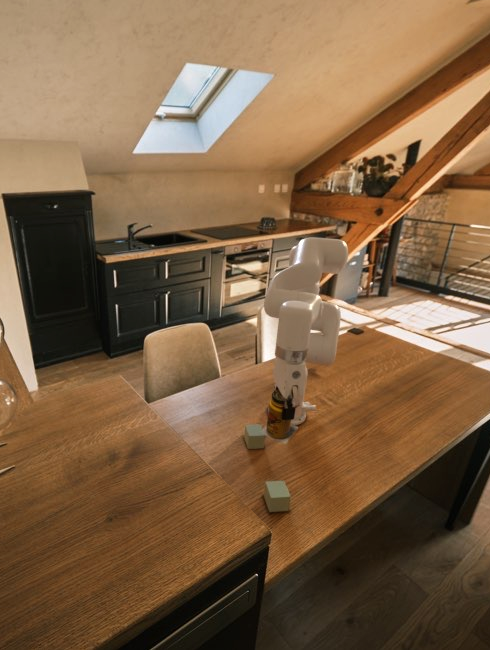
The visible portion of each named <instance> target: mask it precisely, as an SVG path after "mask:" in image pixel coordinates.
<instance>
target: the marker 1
mask: <svg viewBox="0 0 490 650" xmlns="http://www.w3.org/2000/svg"><path fill="white" fill-rule="evenodd" d="M263 429H264V428H263V426H262V424H260V423H259V424H257V423H256V424H244V434H243V440H244V442H245V445H246V447H247V450H253V449H256V450H257V449H265V442H266V441H265V440H266V435H264V434H263V433H261V431H262V430H263Z"/></svg>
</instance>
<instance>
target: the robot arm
mask: <svg viewBox="0 0 490 650" xmlns="http://www.w3.org/2000/svg"><path fill="white" fill-rule="evenodd" d="M348 260H349V247H348V244H347V243H346V242H345V241H344V240H342V239H339V238H326V237H306V238H302V239H301V240H300V241H299V242H298V243H297V245H295V246H293V247H291V248H290V250H289V254H288V267H286V268H284V269H282V270H281V271H279V272H278V273H276V274H275V275H274V276H273V277H272V278H271V280H270V281H269V284H268V287H267V290H266V293H265V297H264V301H263V302H264V303H263V309H264V313H265V315H267V316H268V317H270V318H275V319H278V321H277V322H278V323H277V331H276V339H275V340H276V341H275V349H274V356H275V359H274V362H273V363H274V364H273V371H272V379H273V381H274V385H273V392H274V391H277V390H280V392H281V394H282V395H283V397H284V406H283V408H282V415H281V419H282V420H291V424H292V425H294V426H299V425H301V424H303V423H304V422H305V420H306V418H307V413H308V412H316V411H317V405H316V404H313V405H312V404H310V402H309V401H304V399H305V393H306V387H307V382H308V373H309V372H308V368H307V365H306V363H308V364H312V365H319V366H325V367H329V366H331V365H333V364H334V363H335V360H336V357H337V351H338V344H339V335H340V327H341V319H342V316H341V315H342V314H341V309H340V307H339V305H337V304H335V303H333V302H328V301H323V299H322V297H321V296H320V286H319V285H320V284H319V282H320V281H321V279H322V276H323V274H330V275H331V274H332V275H339V274H341V273H342V272H343V271H344V270H345V268H346V265H347V262H348ZM312 331H316V332H317V331H318V332H320V333H316V332H312ZM290 394H291V395H290ZM288 399H292V402H290V403H288ZM268 409H269V406H268V408H267V410H268Z"/></svg>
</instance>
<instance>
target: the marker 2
mask: <svg viewBox="0 0 490 650" xmlns="http://www.w3.org/2000/svg"><path fill="white" fill-rule="evenodd" d="M263 497H264V501H265V504H266V507H267V510H268V513H277V512H289V509H290V503H291V498H292V497H291V494H290V492H289V489H288V486H287V484H286V482H285V480H277V481H276V480H274V481H265V482H264V491H263Z"/></svg>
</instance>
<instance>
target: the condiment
mask: <svg viewBox="0 0 490 650" xmlns="http://www.w3.org/2000/svg"><path fill="white" fill-rule="evenodd" d="M290 395H291V394H290ZM290 402H292V399H288V403H290ZM283 406H284V397H283V395H282V394H281V392H280V390H277V391H274V390H273V392H272V393H271V397H270V400H269V402H268V407H269V409H268V408H267V420H266V425H265V426H264V427H263V428H262V429H263V430H262V431H261V433H263V434H264V435H265V437H269V438H270V439H272V440H275V441H276V442H279V443H281V444H283V445H286V444H287V443H288V442H289V441H290V440H291V438H292V437H293V436H294V434H295V433H296V432H297V430H298V429H299V426H298V425H292V424H291V420H282V419H281V415H282V408H283Z"/></svg>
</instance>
